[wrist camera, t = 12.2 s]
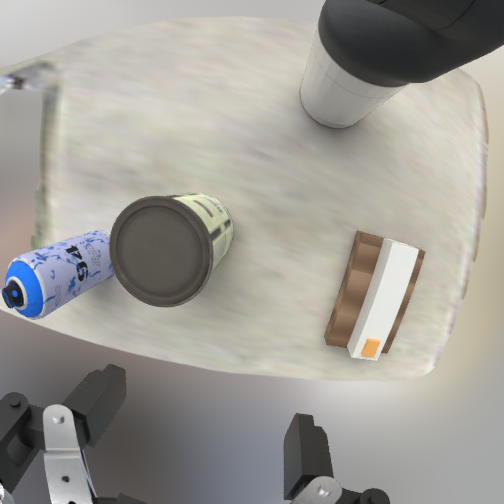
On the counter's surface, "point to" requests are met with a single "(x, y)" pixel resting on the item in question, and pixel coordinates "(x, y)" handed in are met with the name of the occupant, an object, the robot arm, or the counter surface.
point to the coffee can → (169, 246)
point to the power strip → (382, 299)
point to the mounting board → (363, 291)
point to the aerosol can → (57, 274)
